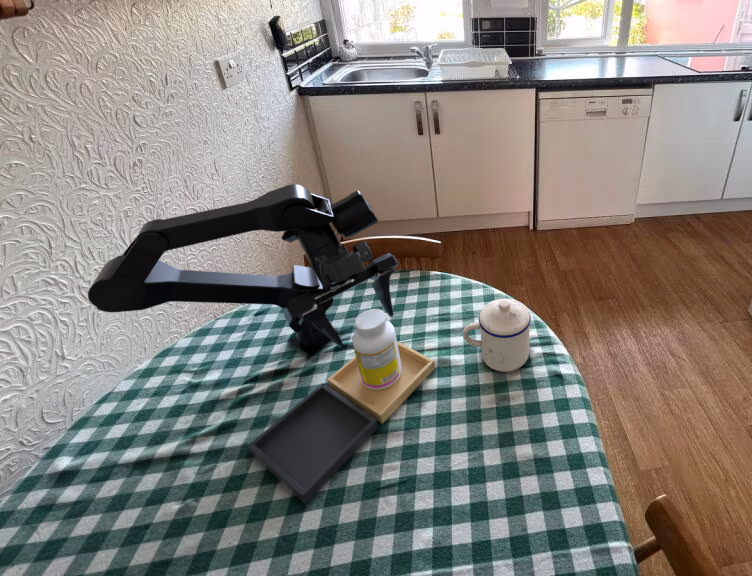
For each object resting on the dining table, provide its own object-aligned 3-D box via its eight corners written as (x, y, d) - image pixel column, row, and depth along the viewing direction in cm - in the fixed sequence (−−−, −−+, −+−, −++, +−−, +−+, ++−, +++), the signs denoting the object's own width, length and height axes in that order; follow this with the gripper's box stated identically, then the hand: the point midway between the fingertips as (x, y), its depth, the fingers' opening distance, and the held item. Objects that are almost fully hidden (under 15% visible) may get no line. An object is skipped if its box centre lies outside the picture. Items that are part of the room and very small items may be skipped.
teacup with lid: (528, 334, 80) (528, 285, 75) (532, 372, 72) (533, 321, 67) (465, 336, 79) (462, 288, 74) (463, 376, 71) (459, 324, 66)
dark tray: (251, 453, 59) (247, 445, 58) (324, 391, 69) (322, 382, 68) (305, 504, 53) (302, 496, 52) (378, 428, 63) (376, 419, 62)
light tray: (329, 387, 69) (326, 379, 68) (384, 340, 79) (382, 333, 78) (382, 424, 63) (380, 415, 62) (435, 368, 73) (434, 360, 72)
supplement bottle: (369, 359, 74) (357, 303, 68) (406, 360, 74) (397, 304, 68) (356, 392, 68) (341, 333, 62) (396, 393, 68) (384, 334, 62)
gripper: (269, 260, 59) (320, 357, 57) (385, 213, 71) (430, 291, 69) (265, 281, 68) (309, 366, 66) (369, 235, 80) (409, 306, 78)
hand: (368, 330), depth 69 cm, fingers open, 9 cm apart
